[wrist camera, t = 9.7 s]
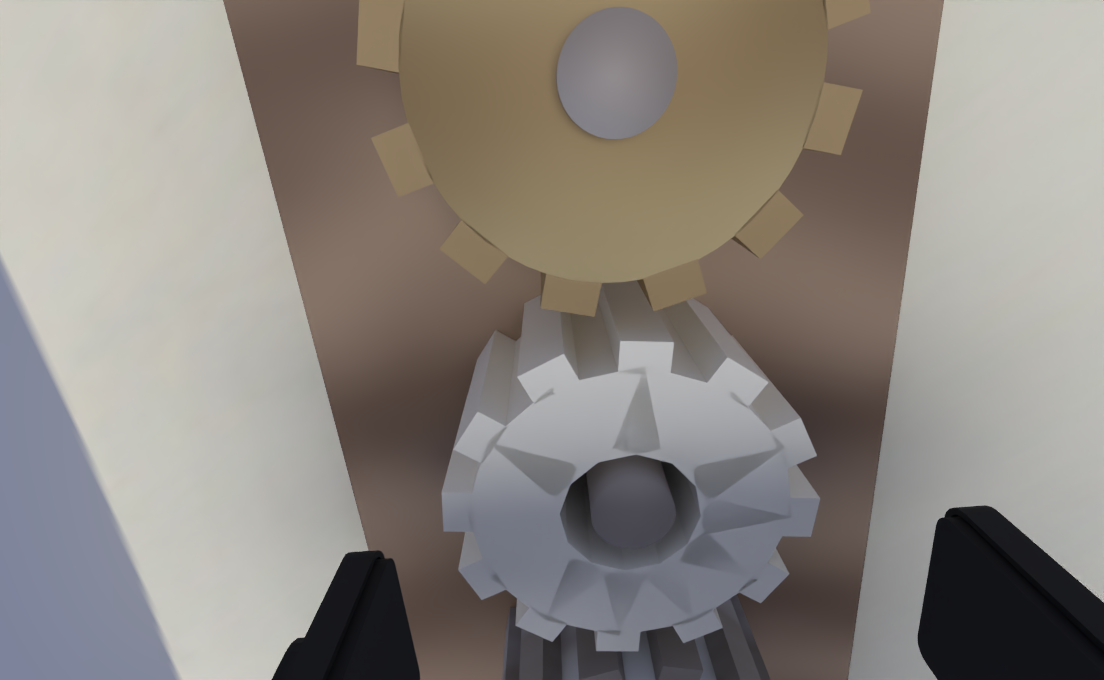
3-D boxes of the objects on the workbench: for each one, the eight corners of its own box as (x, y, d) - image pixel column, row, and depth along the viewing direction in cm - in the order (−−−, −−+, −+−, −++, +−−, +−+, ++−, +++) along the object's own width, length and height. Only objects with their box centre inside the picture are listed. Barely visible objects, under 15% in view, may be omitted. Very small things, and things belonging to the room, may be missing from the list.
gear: (687, 549, 16) (729, 678, 13) (440, 491, 16) (408, 611, 12) (796, 322, 14) (888, 402, 10) (510, 239, 13) (496, 292, 9)
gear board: (820, 692, 21) (959, 987, 14) (433, 721, 21) (378, 1025, 14) (931, -254, 11) (1586, -862, 4) (212, -174, 11) (-308, -618, 4)
